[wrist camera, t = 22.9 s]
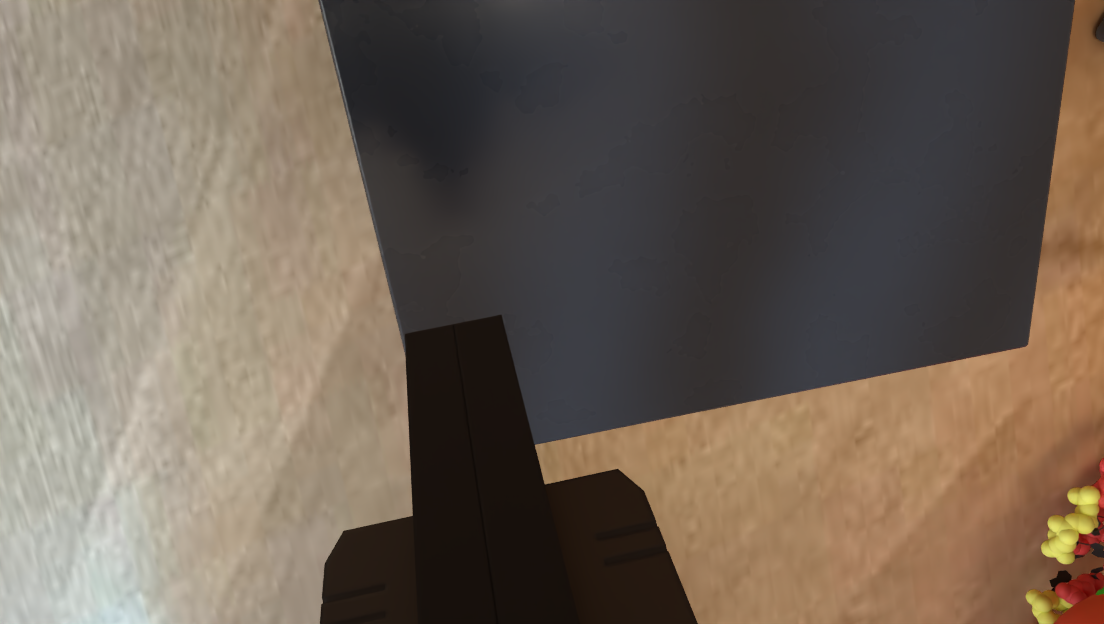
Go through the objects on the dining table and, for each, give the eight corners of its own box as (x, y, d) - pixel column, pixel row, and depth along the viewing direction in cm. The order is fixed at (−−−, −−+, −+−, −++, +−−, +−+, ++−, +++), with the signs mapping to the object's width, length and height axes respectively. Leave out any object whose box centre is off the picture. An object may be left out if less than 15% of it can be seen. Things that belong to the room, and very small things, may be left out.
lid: (431, 448, 24) (432, 466, 23) (309, -54, 18) (305, -50, 17) (1011, 333, 25) (1029, 347, 24) (1076, -175, 19) (1101, -176, 19)
